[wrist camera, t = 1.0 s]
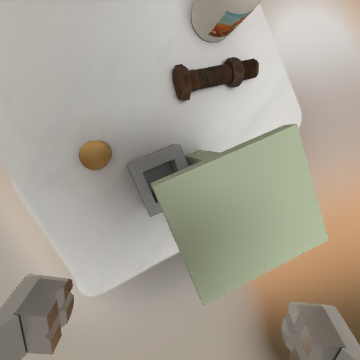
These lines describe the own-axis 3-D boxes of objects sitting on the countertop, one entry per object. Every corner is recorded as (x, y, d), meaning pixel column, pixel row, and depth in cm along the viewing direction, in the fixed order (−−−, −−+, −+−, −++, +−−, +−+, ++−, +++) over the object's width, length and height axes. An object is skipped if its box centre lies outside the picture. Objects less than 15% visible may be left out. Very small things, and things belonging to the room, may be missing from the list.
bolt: (245, 77, 50) (173, 92, 47) (248, 49, 47) (170, 63, 43) (262, 87, 46) (184, 104, 43) (267, 57, 42) (182, 73, 39)
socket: (126, 163, 45) (127, 166, 40) (172, 144, 47) (180, 144, 41) (146, 207, 47) (150, 217, 42) (190, 188, 49) (199, 194, 43)
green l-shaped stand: (133, 157, 46) (152, 186, 17) (194, 132, 47) (302, 121, 19) (155, 206, 48) (203, 305, 19) (212, 181, 49) (333, 237, 21)
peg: (83, 146, 43) (73, 147, 35) (105, 137, 44) (101, 136, 35) (93, 167, 44) (86, 174, 36) (115, 158, 45) (113, 163, 36)
